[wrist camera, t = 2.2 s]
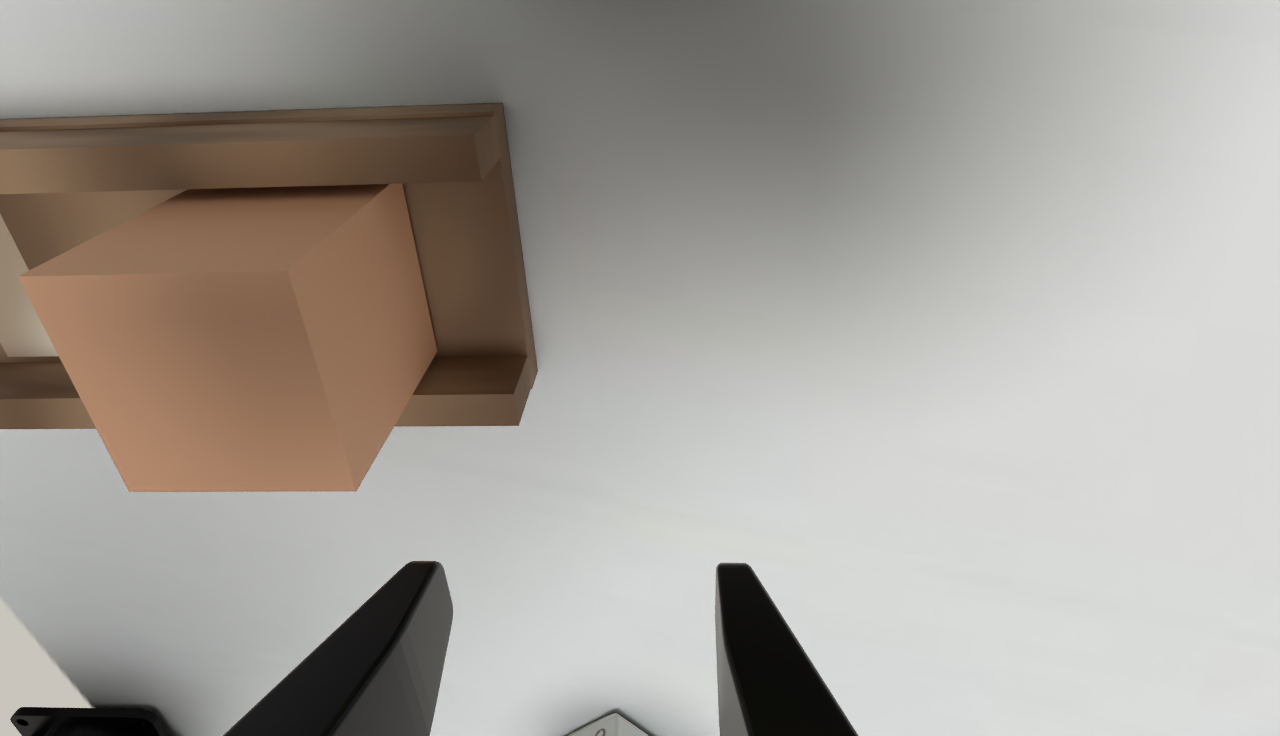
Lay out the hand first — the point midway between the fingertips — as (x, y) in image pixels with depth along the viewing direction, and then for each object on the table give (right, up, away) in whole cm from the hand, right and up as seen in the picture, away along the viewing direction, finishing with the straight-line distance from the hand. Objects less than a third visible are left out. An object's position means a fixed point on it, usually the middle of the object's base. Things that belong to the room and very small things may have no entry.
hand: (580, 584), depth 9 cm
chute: (-10, +6, +11) cm, 16 cm away
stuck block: (-8, +5, +10) cm, 13 cm away
